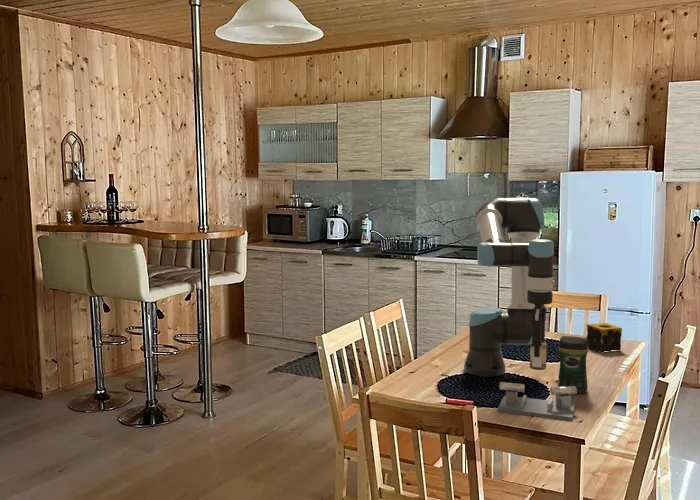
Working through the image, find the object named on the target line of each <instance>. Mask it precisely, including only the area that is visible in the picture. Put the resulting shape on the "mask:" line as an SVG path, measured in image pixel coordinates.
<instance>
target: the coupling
mask: <svg viewBox="0 0 700 500" xmlns="http://www.w3.org/2000/svg"><path fill="white" fill-rule="evenodd" d="M530 344H532V341H531V342H530ZM541 344H542V367H533V366H532V354H533V346H530V345H529V368H530V369H531V370H535V371H545V370H546V369H547V345H548V343H547V341H542V342H541Z"/></svg>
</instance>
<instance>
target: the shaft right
mask: <svg viewBox="0 0 700 500" xmlns="http://www.w3.org/2000/svg"><path fill="white" fill-rule="evenodd" d="M550 394H551V396H555V401H556V406H558V407H559V408H560V409H571V403H572V396H571V395H576V394H578V393H577V389H576V387H575V386H569V387H558V386H554V387H553V386H552V387H550Z"/></svg>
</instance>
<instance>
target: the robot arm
mask: <svg viewBox="0 0 700 500" xmlns="http://www.w3.org/2000/svg"><path fill="white" fill-rule="evenodd" d="M474 217H475V218H474V219H475V225H476V227H477V229H478V230H479V234H480V240H481V242H479V243H478V245H477V253H476V254H477V264H478V265H479V266H482V267H489V268H490V267H511V303H510V304H509V305H508V306H507V307H506V308H507V309H506V310H507V311H506V312H505V311H504V312H503V311H502V310H503V309H502V308H499V307H483V308H479V309H475V310H473V311H472V312H471V313H470V314H469V322H468V326H469V330H468V331H469V332H468V333H469V335H468V336H469V337H468V338H469V339H468V340H469V341H468V351H467V354H466V357H465V361H464V364H463V372H465V373H466V374H469V375H471V376H477V377H487V378H488V377H499V376H501V375H502V376H503V375H504V374H506V364H505V361H504V357H503V353H502V345H519V346H520V345H521V346H523V345H524V346H529V347H530V346H533V354H532V366H533V367H542V344H541V342H542V341H543V342H547V338H546V332H545V331H546V319H547V317H546V316H547V311H548V310H547V307H546V306H545V305H551V304H552V303H553V296H554V295H553V291H552V290H553V286H554V285H553V284H555V283H556V281H555V280H554V277H553V276H554V257H555V247H554V246H555V244H554V241H553V240H551V239H543V238H541V239H539V238H538V239H537V237H538V236H539V235H540V234H541V233H540V231H541V230H543V229H544V228H545V215H544V209H543V205H542V202H541V201H540V199H538V198H535V197H532V198H531V197H497V198H493V199H490V200H488V201H487V202H485V203H483V204H482V205H481V206H480V207H479V208H478V210H477V212H476V214H475V216H474ZM503 230H507V231H506V232H507V236H508V237H509V238H510V239H511V242H506V240H505V237H504V233H503ZM531 341H532V344H530V342H531Z"/></svg>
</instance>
